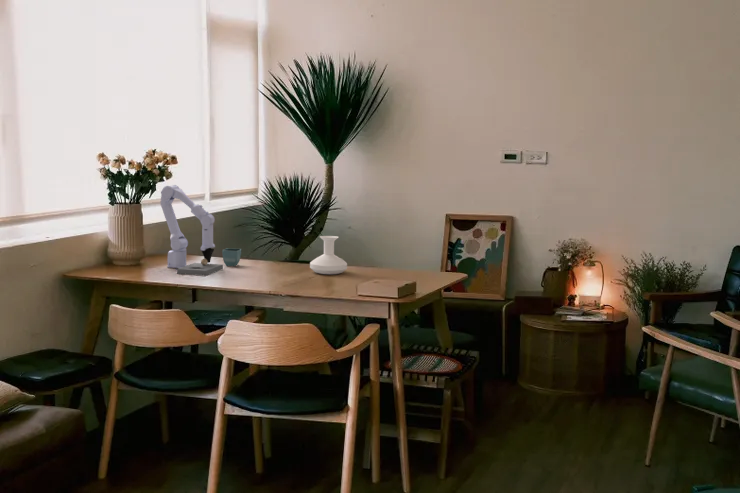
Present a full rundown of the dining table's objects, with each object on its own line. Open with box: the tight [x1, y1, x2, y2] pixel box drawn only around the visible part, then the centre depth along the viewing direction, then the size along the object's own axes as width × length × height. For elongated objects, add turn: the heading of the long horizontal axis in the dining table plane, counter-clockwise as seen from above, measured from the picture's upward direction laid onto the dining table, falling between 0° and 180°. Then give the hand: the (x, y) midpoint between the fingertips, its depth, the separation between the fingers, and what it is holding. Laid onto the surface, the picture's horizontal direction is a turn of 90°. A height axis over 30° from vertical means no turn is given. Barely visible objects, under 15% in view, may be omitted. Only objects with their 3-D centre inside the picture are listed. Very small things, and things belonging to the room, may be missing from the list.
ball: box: [200, 258, 209, 265], centre depth 430 cm, size 4×4×4 cm
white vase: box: [309, 235, 348, 275], centre depth 431 cm, size 20×20×19 cm
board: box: [176, 262, 224, 276], centre depth 425 cm, size 16×22×2 cm
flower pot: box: [221, 247, 242, 267], centre depth 447 cm, size 9×9×9 cm
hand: (207, 262), depth 434 cm, fingers closed
